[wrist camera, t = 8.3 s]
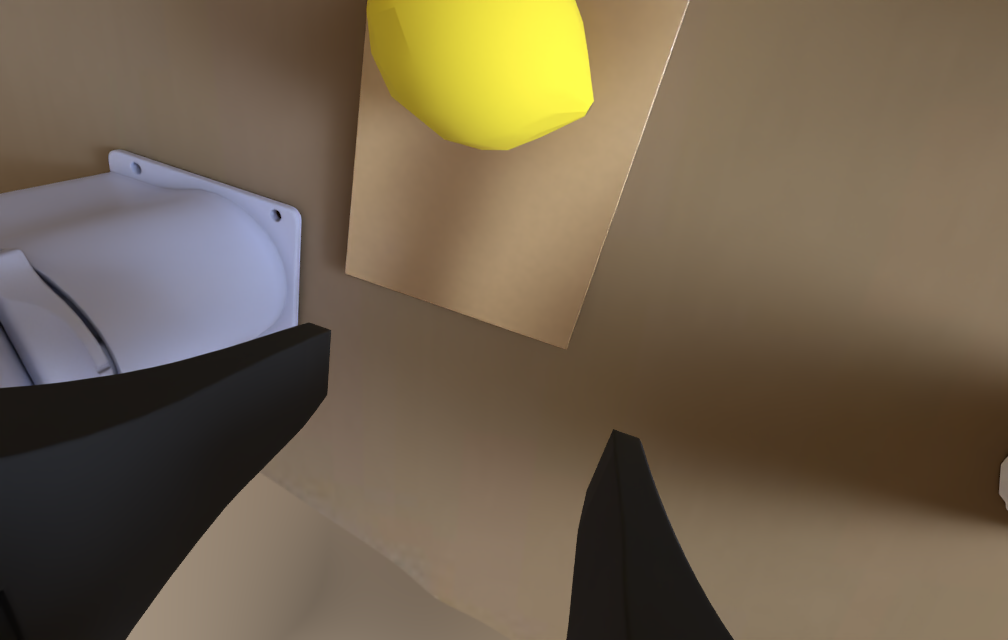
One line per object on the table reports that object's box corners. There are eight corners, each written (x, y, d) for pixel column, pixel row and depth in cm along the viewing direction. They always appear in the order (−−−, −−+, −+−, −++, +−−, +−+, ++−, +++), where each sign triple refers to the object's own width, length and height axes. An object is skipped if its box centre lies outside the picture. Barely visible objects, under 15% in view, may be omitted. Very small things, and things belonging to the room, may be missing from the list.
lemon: (384, 69, 18) (287, 71, 13) (448, -110, 15) (355, -187, 10) (554, 177, 18) (518, 218, 13) (648, 20, 15) (645, 1, 10)
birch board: (353, 267, 23) (344, 273, 22) (420, -442, 13) (406, -472, 12) (569, 341, 21) (566, 350, 21) (823, -379, 12) (833, -408, 11)
